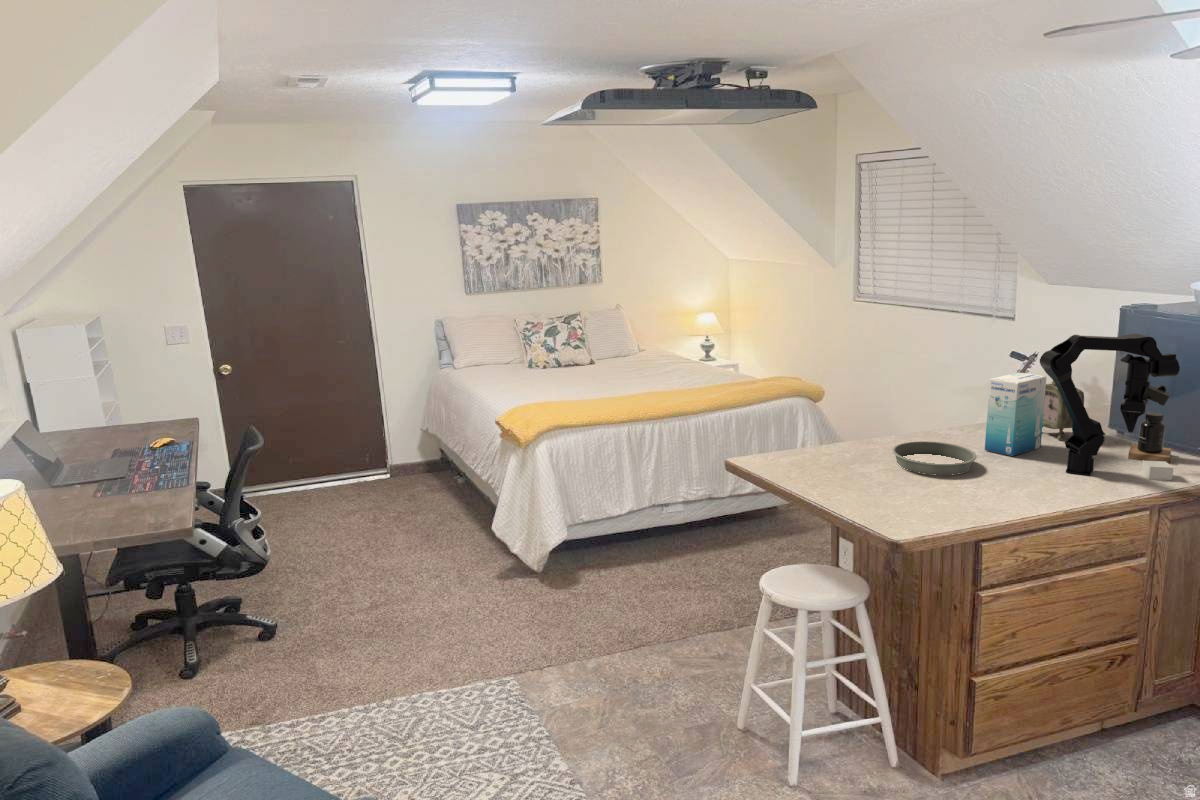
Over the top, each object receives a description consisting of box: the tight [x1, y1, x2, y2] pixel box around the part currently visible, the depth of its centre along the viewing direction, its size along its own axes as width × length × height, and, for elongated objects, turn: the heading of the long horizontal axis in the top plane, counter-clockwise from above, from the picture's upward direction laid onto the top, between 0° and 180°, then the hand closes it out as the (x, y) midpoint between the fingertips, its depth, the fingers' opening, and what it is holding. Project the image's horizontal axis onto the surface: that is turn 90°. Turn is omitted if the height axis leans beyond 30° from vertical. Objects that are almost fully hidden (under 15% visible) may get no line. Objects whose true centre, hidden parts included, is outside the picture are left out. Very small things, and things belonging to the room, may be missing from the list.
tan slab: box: [1127, 443, 1172, 465], centre depth 281 cm, size 11×11×2 cm
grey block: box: [1141, 461, 1174, 481], centre depth 262 cm, size 6×6×4 cm
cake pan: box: [891, 440, 978, 476], centre depth 278 cm, size 25×25×4 cm
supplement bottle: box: [1137, 411, 1166, 453], centre depth 279 cm, size 7×7×12 cm
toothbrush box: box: [984, 372, 1047, 457], centre depth 290 cm, size 18×10×24 cm, turn 126°
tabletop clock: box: [1042, 380, 1085, 441], centre depth 304 cm, size 14×9×25 cm, turn 10°
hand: (1131, 428), depth 266 cm, fingers open, 9 cm apart
